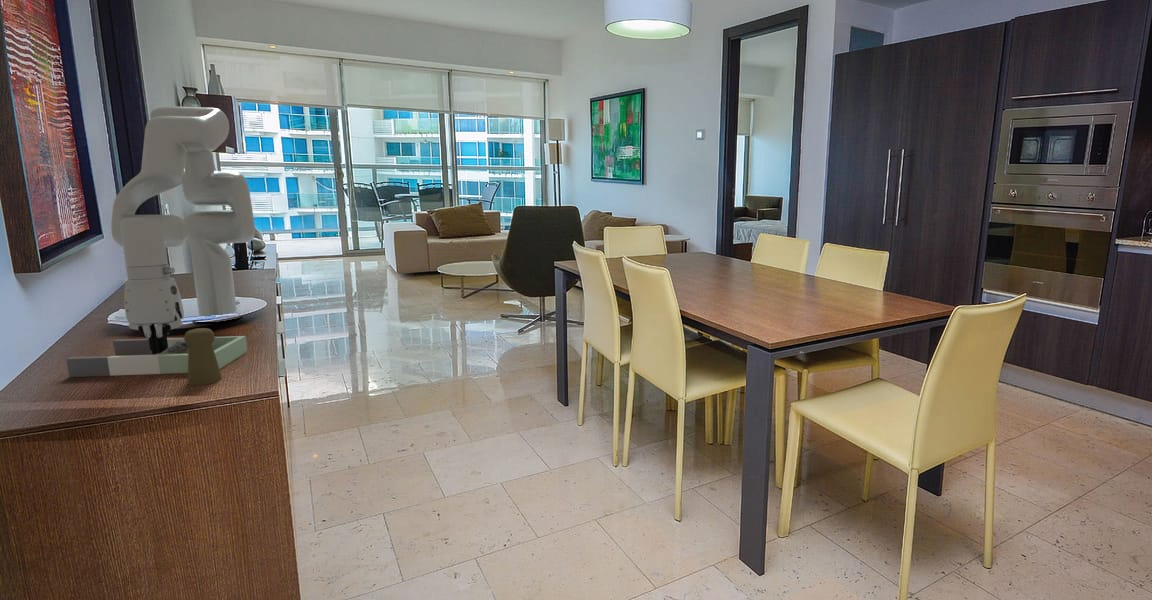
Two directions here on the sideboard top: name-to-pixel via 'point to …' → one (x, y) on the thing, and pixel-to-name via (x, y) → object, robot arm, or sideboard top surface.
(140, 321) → the robot arm
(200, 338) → the cork
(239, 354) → the frame
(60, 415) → the sideboard top surface
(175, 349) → the egg carton
